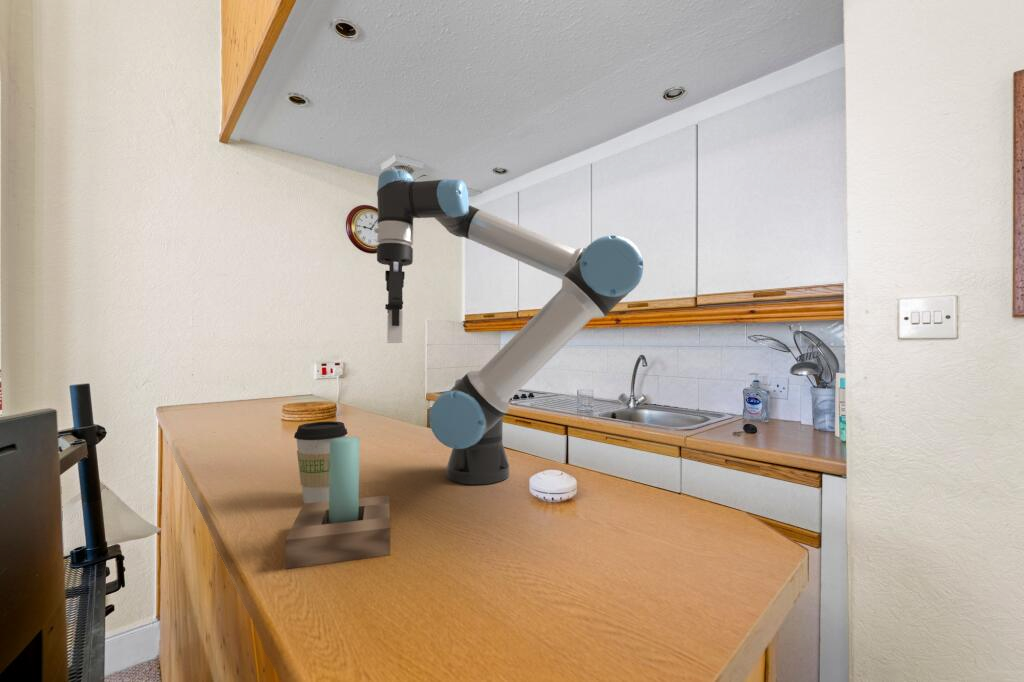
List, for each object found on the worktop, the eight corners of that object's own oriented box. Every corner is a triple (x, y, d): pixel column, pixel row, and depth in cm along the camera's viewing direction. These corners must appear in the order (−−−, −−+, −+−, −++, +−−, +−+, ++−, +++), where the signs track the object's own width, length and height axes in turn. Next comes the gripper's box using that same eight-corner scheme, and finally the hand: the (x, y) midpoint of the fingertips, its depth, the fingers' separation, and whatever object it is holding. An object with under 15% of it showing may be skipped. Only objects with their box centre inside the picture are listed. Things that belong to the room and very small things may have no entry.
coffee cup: (308, 513, 77) (309, 432, 77) (283, 501, 83) (284, 425, 83) (356, 498, 85) (357, 424, 85) (330, 488, 91) (331, 419, 91)
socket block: (388, 517, 75) (389, 495, 76) (389, 554, 62) (390, 527, 62) (303, 527, 71) (303, 503, 71) (285, 569, 58) (285, 540, 58)
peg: (358, 532, 69) (360, 436, 70) (357, 544, 65) (358, 442, 65) (330, 535, 68) (331, 437, 68) (326, 548, 64) (328, 443, 64)
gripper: (377, 255, 101) (376, 343, 101) (376, 228, 78) (375, 342, 77) (409, 258, 104) (408, 343, 103) (417, 232, 80) (416, 342, 80)
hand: (394, 343), depth 90 cm, fingers open, 13 cm apart
